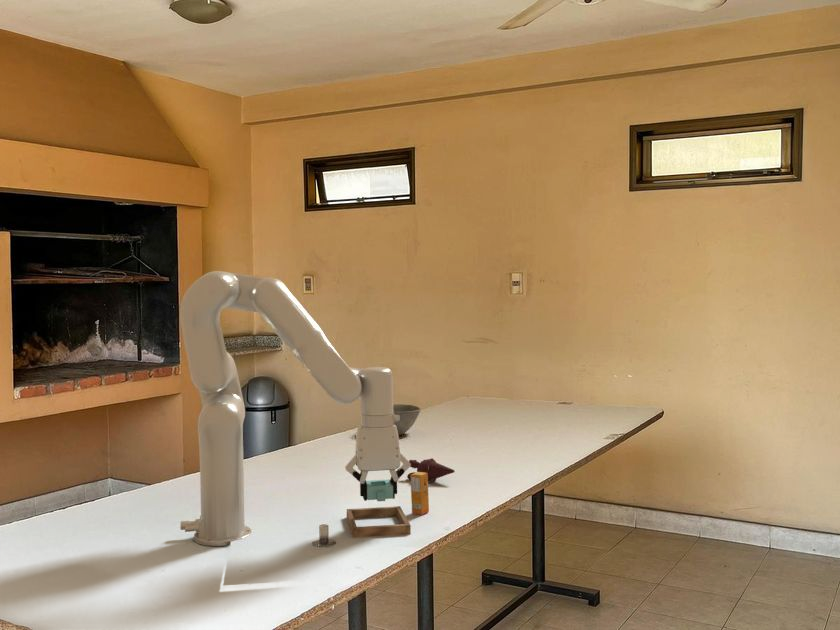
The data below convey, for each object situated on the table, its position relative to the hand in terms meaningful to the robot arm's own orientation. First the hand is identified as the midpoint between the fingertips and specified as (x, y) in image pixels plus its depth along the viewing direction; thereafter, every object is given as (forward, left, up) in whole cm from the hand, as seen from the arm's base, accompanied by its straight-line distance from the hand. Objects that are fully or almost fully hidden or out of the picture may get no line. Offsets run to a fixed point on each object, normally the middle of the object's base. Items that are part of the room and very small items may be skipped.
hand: (378, 497), depth 185 cm
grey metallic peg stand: (-13, -10, -8) cm, 18 cm away
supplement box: (+12, +11, -8) cm, 18 cm away
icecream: (+20, +40, -8) cm, 46 cm away
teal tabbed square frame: (0, 0, 0) cm, 0 cm away
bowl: (+21, +110, -8) cm, 112 cm away
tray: (0, 0, -8) cm, 8 cm away
